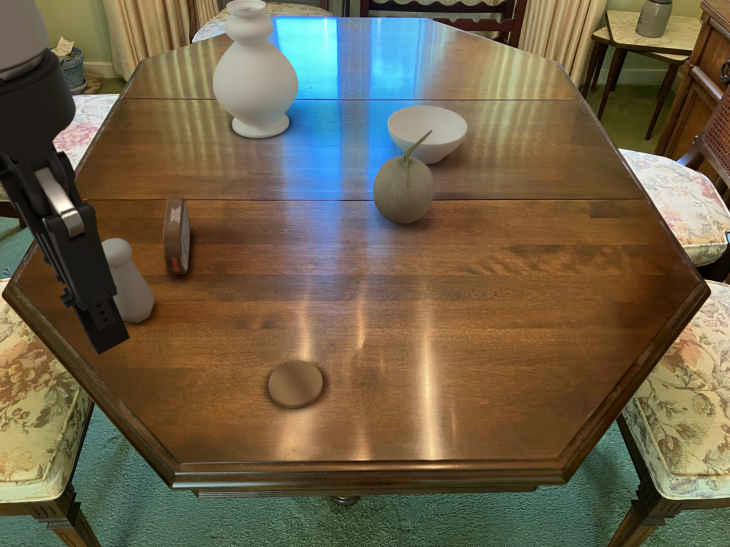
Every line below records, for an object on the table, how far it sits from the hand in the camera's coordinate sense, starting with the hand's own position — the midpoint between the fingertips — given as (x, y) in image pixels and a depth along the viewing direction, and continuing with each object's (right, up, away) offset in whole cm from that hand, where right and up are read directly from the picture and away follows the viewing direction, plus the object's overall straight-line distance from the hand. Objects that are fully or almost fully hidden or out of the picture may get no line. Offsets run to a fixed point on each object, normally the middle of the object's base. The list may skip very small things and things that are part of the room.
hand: (110, 341), depth 46 cm
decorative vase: (-2, +39, +77) cm, 86 cm away
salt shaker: (-12, 0, +35) cm, 37 cm away
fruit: (+28, +15, +53) cm, 62 cm away
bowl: (+33, +30, +69) cm, 82 cm away
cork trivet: (+12, -9, +26) cm, 30 cm away
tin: (-9, +9, +45) cm, 46 cm away
